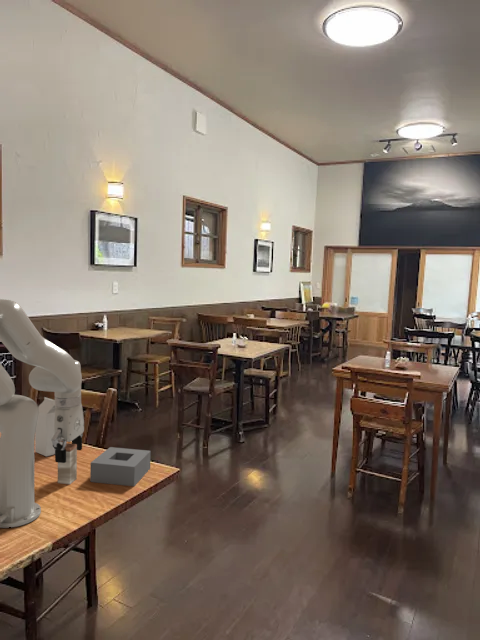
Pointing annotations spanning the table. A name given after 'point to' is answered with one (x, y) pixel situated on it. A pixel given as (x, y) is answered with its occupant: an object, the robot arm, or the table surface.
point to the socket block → (120, 466)
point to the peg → (68, 465)
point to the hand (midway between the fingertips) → (69, 455)
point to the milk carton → (45, 428)
